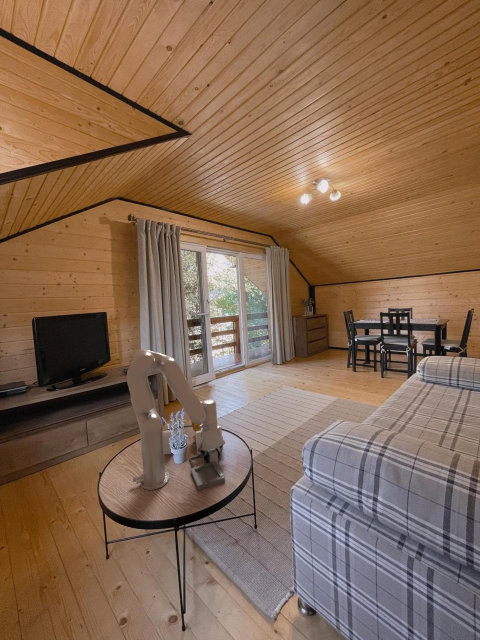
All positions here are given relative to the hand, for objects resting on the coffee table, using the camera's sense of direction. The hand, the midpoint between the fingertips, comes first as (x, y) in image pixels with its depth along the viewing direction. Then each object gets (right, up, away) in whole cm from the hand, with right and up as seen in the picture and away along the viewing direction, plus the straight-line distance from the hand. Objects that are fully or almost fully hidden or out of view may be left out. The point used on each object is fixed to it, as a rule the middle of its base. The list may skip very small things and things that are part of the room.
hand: (212, 459), depth 136 cm
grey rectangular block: (0, -1, 0) cm, 1 cm away
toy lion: (-7, 0, +20) cm, 21 cm away
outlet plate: (-1, 0, +8) cm, 8 cm away
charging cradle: (-1, -2, -12) cm, 13 cm away
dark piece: (-3, -1, +1) cm, 3 cm away
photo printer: (-26, -2, +10) cm, 28 cm away
